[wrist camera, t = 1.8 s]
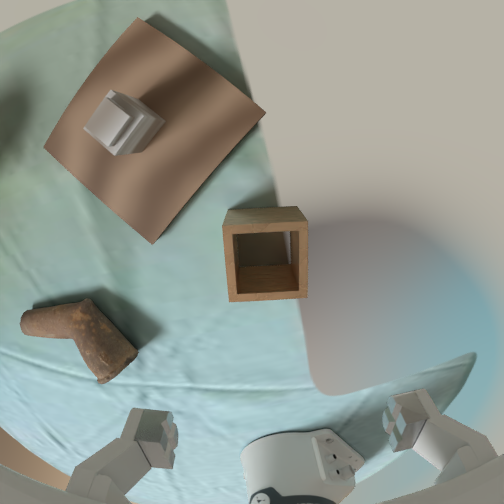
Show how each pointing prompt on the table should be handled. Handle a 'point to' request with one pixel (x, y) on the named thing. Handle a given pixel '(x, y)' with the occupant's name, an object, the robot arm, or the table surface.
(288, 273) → the tan hollow cube
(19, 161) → the table surface
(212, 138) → the wavy brown square sheet
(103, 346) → the pipe
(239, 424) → the table surface
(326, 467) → the robot arm
